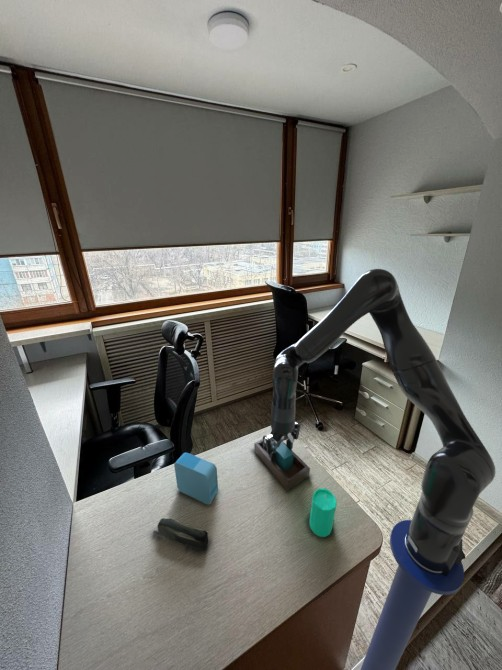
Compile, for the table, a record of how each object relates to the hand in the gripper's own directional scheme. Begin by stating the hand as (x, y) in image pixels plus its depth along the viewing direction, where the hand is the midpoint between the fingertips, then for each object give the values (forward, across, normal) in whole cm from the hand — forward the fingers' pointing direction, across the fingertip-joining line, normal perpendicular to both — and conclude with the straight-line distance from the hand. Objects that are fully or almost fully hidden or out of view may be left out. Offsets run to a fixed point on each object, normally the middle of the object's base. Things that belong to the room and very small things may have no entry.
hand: (280, 454), depth 90 cm
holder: (+4, 0, 0) cm, 4 cm away
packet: (+3, 0, 0) cm, 3 cm away
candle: (+4, +4, +22) cm, 23 cm away
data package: (+4, +28, -5) cm, 29 cm away
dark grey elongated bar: (+4, +37, +4) cm, 37 cm away
